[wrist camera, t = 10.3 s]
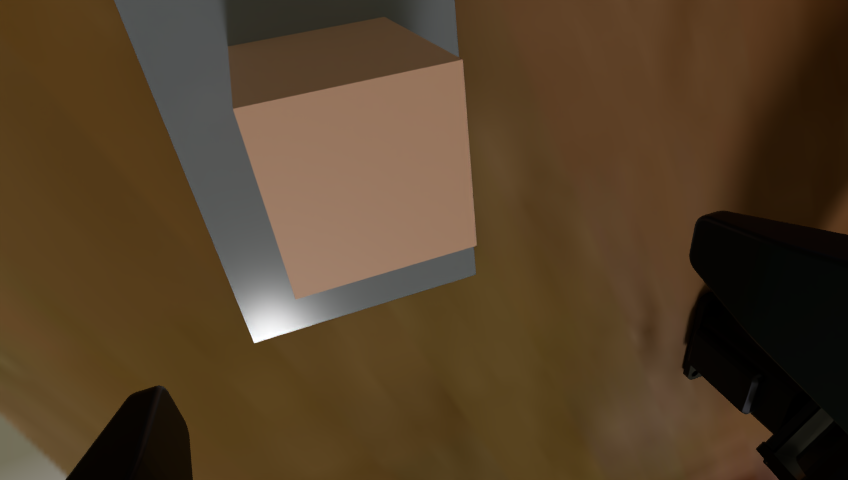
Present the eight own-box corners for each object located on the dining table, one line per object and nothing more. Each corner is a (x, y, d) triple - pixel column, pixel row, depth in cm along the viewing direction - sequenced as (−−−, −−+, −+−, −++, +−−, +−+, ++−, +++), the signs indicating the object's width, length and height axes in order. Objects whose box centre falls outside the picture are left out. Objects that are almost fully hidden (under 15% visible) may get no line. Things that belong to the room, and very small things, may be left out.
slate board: (421, -241, 13) (434, -252, 13) (466, 261, 22) (475, 274, 21) (38, -209, 11) (24, -220, 11) (253, 326, 20) (254, 343, 19)
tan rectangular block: (384, 16, 15) (462, 59, 10) (405, 157, 18) (476, 245, 13) (227, 46, 14) (232, 108, 9) (273, 190, 17) (295, 299, 12)
